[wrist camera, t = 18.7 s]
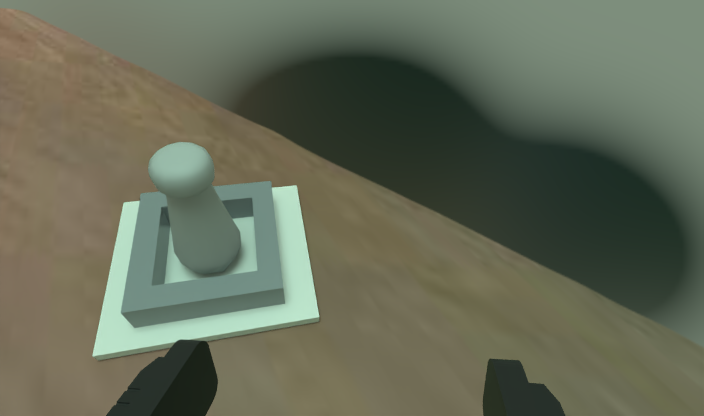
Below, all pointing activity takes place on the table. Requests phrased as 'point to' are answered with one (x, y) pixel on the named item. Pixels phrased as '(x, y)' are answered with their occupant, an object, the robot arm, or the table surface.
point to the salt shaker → (195, 208)
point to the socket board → (207, 276)
